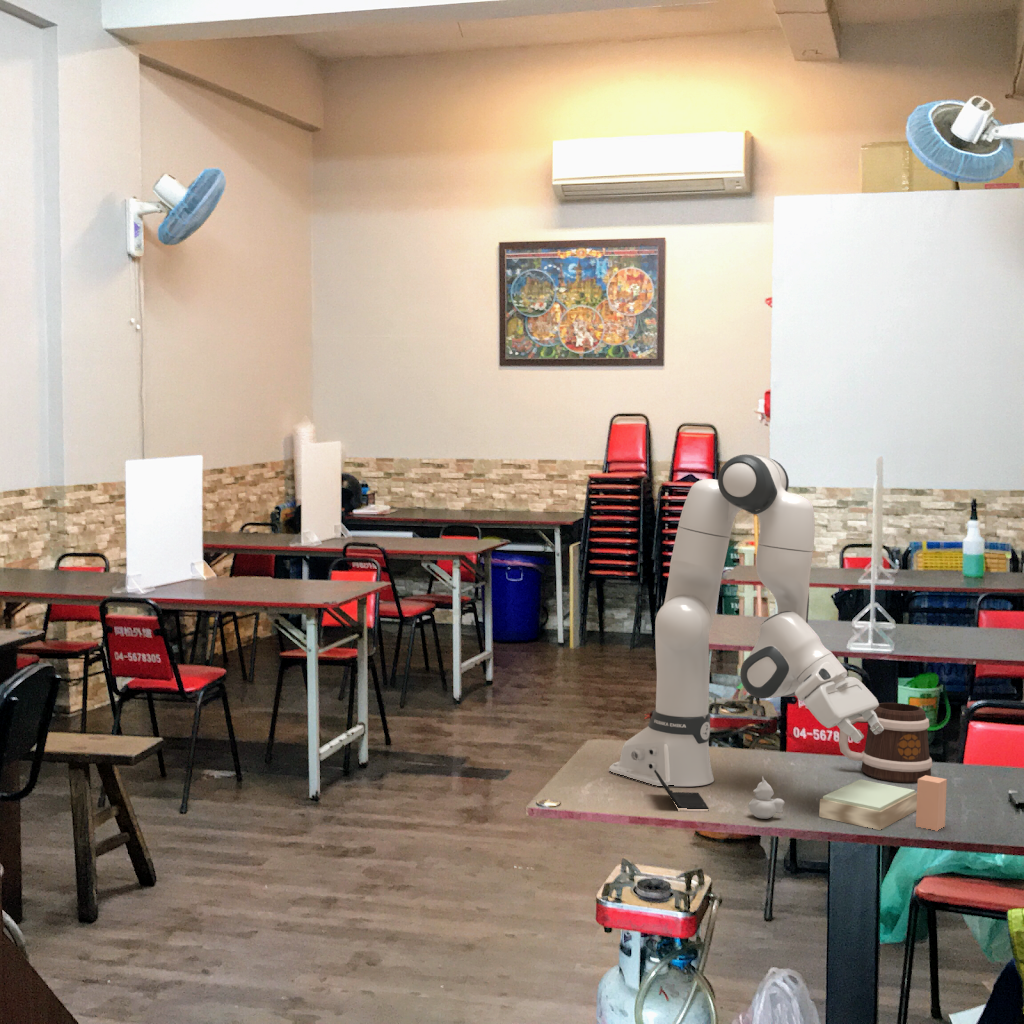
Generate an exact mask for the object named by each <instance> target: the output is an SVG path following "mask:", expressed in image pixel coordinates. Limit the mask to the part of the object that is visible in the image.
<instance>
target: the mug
mask: <svg viewBox="0 0 1024 1024" xmlns="http://www.w3.org/2000/svg"><path fill="white" fill-rule="evenodd" d="M878 703H879V702H878ZM873 711H874V712H875V713H876V715H877V718H878V720H879V723H880V724H881V725H882V726H883V728H884V730H883V731H882V732H881V733H879V734H876V735H875V734H874V733H873V732H872V731H871V729H870V728H871V727H870V725H869V723H868V721H867V720H865V719H864V718H863V717H860V718H857V719H854V720H851V721H850V722H851V724H852V725H853V726H854V725H855V724H857V723H860V724H868V725H867V726H868V727H867V731H866V738H865V744H864V745H865V746H864V750H863V751H862V752H856V751H852V750H851V749H850V747H849V738H850V736H848V735H847V734H846V733H844V732H843V731H841V730H840V729H839V735H838V736H839V737H838V744H839V745H838V746H839V749H840V750H839V751H840V753H842V755H843V756H845V757H846V758H847V759H848V760H851V761H855V762H856V761H857V762H861V770H862V772H863V773H864V774H865V775H866V776H868V777H870V776H871V778H872V779H876V778H877V779H876V780H880V779H881V781H885V780H887V782H891V781H893V782H894V783H901V782H903V783H905V784H907V783H908V784H911V783H912V782H915V783H918V779H919V778H921V777H923V776H925V775H927V776H932V770H931V769H932V767H934V766H933V759H932V757H931V756H930V748H929V746H930V745H929V735H928V734H929V733H928V729H929V728H930V721H929V718H928V717H927V715H926V711H925V710H924V709H923V708H922V707H920V706H917V705H914V704H913V705H912V704H909V703H898V702H881V703H879V706H878V707H877V708H876V709H875V710H873Z"/></svg>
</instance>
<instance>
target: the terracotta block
mask: <svg viewBox="0 0 1024 1024" xmlns="http://www.w3.org/2000/svg"><path fill="white" fill-rule="evenodd" d="M947 782H948V779H947V778H942V777H938V776H932V775H931V776H927V775H925V776H923V777H921V778H919V779H918V782H917V786H916V787H917V789H916V791H917V792H916V793H917V810H916V811H915V813H916V814H915V815H916V816H915V828H918V827H921V828H920V829H923V828H926V829H925V830H928V829H931V830H930V831H932V830H935V831H934V832H939V831H940V830H939V829H941V828H942V829H944V828H945V827H946V810H947V805H946V804H947V786H948V785H947V784H948V783H947ZM943 827H944V828H943ZM942 829H941V830H942ZM938 830H939V831H938Z"/></svg>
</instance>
